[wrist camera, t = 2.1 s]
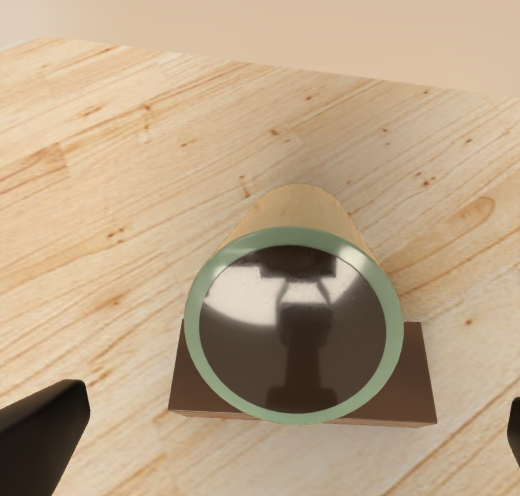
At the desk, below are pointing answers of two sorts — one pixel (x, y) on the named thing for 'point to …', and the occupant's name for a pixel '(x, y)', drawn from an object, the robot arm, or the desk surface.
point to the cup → (294, 312)
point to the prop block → (371, 413)
